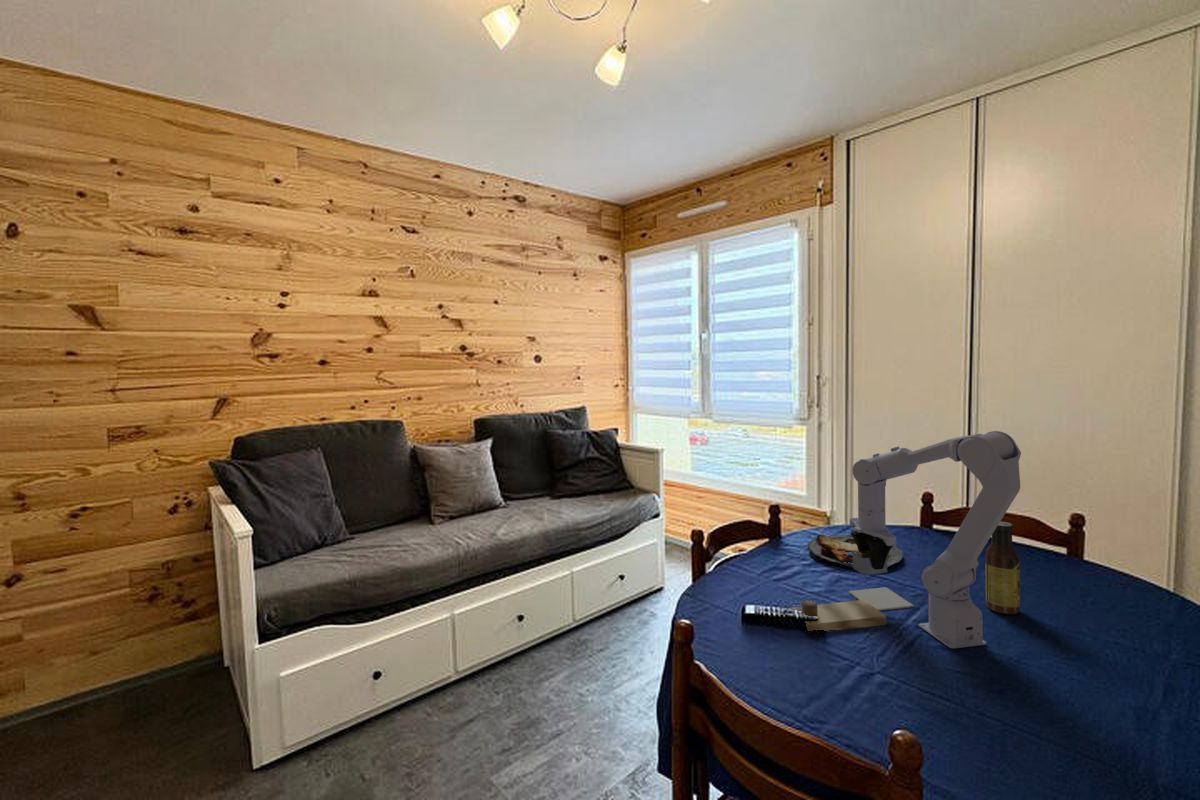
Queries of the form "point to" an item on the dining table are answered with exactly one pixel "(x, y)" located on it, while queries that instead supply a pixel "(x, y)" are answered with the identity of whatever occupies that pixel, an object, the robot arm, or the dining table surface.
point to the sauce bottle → (1002, 572)
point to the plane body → (841, 615)
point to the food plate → (844, 549)
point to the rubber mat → (881, 598)
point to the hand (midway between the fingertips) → (872, 564)
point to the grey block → (866, 563)
